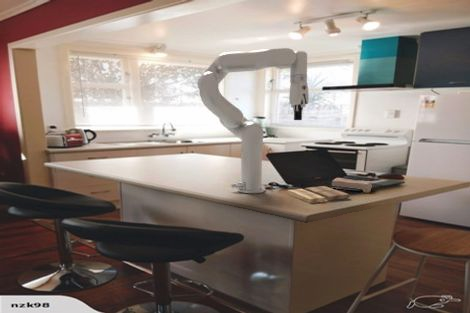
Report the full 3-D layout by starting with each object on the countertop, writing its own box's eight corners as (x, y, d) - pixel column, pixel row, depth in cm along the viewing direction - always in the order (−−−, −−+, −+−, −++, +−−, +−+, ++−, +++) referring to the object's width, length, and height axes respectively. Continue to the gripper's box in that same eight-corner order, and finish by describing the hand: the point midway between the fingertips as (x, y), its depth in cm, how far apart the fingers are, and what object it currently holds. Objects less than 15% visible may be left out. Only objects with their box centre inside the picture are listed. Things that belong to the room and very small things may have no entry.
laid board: (309, 203, 137) (310, 198, 137) (287, 194, 154) (287, 189, 154) (327, 201, 140) (327, 197, 140) (303, 192, 157) (303, 188, 157)
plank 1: (315, 195, 149) (315, 191, 149) (304, 191, 157) (304, 188, 157) (335, 193, 152) (335, 189, 152) (323, 189, 160) (323, 186, 160)
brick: (372, 190, 162) (372, 180, 162) (368, 193, 155) (368, 183, 155) (336, 186, 171) (336, 177, 170) (331, 189, 164) (331, 180, 163)
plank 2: (328, 200, 140) (328, 196, 140) (316, 195, 148) (316, 192, 148) (349, 197, 144) (349, 194, 144) (336, 193, 152) (336, 189, 152)
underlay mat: (309, 203, 137) (309, 203, 137) (287, 194, 154) (287, 193, 154) (350, 199, 144) (350, 198, 144) (325, 190, 161) (325, 190, 161)
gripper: (314, 78, 154) (313, 120, 156) (297, 81, 168) (296, 119, 170) (299, 77, 152) (299, 120, 154) (283, 81, 166) (282, 120, 168)
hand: (297, 120), depth 162 cm, fingers closed
